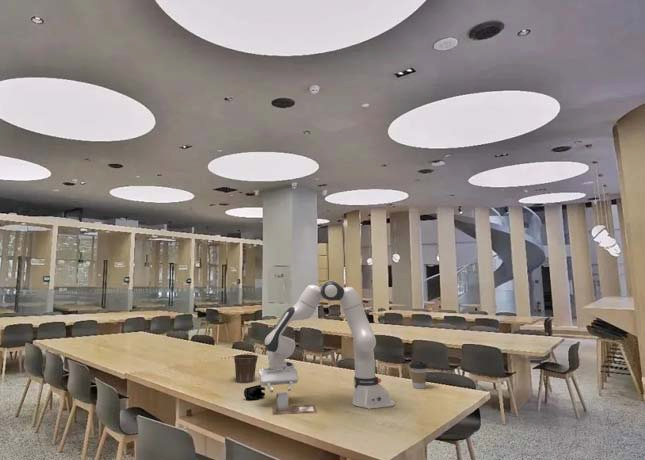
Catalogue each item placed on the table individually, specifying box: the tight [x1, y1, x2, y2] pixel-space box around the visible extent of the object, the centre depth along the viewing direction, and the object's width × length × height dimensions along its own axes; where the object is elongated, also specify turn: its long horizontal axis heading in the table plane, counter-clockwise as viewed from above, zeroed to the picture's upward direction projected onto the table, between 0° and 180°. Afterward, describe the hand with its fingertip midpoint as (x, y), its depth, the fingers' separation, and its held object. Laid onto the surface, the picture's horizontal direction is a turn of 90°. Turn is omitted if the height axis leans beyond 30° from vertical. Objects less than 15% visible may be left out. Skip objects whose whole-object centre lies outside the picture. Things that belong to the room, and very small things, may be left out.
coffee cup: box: [408, 361, 428, 390], centre depth 251 cm, size 11×11×15 cm
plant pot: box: [233, 353, 259, 384], centre depth 270 cm, size 16×16×16 cm
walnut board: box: [271, 404, 318, 416], centre depth 203 cm, size 22×14×8 cm, turn 97°
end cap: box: [243, 384, 266, 402], centre depth 227 cm, size 10×7×7 cm
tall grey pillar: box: [276, 391, 289, 411], centre depth 203 cm, size 5×5×8 cm
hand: (280, 391), depth 207 cm, fingers open, 8 cm apart
